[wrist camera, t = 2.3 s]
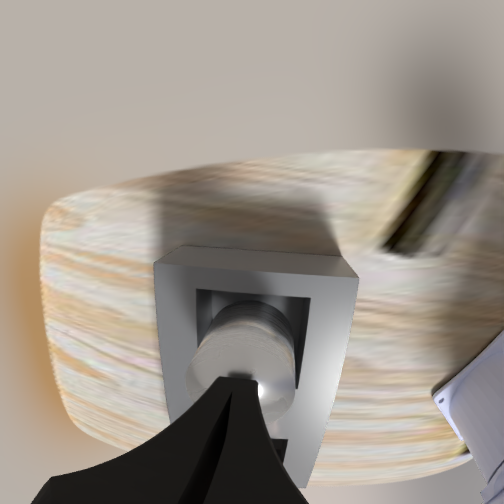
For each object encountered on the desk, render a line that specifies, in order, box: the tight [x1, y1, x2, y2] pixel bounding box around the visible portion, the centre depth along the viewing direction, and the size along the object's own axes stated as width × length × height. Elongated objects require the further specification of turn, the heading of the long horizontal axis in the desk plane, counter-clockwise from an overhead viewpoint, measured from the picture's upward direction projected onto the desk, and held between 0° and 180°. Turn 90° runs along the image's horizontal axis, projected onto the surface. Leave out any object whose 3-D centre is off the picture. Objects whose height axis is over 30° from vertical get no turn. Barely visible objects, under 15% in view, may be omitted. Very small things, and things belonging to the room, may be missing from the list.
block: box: [154, 245, 359, 488], centre depth 16 cm, size 16×9×4 cm, turn 177°
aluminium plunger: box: [185, 300, 295, 424], centre depth 12 cm, size 4×4×4 cm
